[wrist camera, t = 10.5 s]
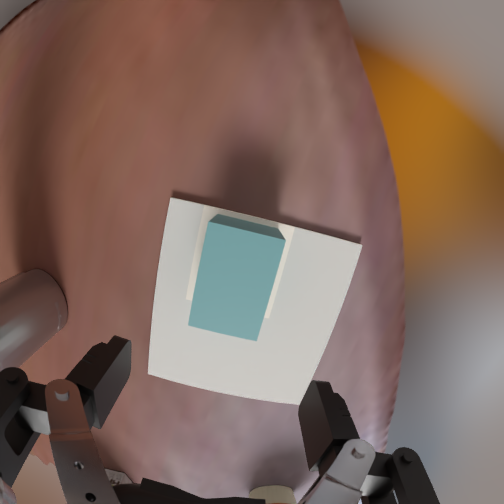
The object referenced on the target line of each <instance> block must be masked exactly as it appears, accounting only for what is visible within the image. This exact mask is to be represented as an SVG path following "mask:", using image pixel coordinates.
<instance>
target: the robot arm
mask: <svg viewBox="0 0 504 504" xmlns="http://www.w3.org/2000/svg"><path fill="white" fill-rule="evenodd" d="M67 315H68V311H67V304H66V301H65V297H64V295H63V293H62V291H61V289H60V287H59V285H58V284H57V283H56V281H55V280H54V279H53V278H52V277H51V276H50V275H49V274H48V273H46V272H45V271H43V270H40V269H33V270H30V271H28V272H26V273H24V272H21V273H19V274H17V275H15V276H13V277H11V278H9V279H7V280H5V281H3V282H1V283H0V504H16V496H15V494H14V492H13V490H12V489H11V487H12V485H13V483H14V481H15V479H16V477H17V475H18V473H19V472H20V470H21V468H22V466H23V464H24V462H25V460H26V458H27V457H28V455H29V453H30V451H31V449H32V448H33V446H34V444H35V442H36V440H37V439H38V437H39V435H40V434H41V433H43V434H47V435H49V439H50V444H51V449H52V453H53V458H54V462H55V466H56V469H57V473H58V476H59V480H60V483H61V486H62V490H63V492H64V496H65V498H66V501H67V504H266V500H265V499H254V498H242V497H229V498H212V499H204V498H200V497H198V496H195V495H193V494H190V493H188V492H185V491H183V490H181V489H179V488H176V487H174V486H171V485H167V484H164V483H160V482H156V481H153V480H149V479H146V478H143V479H142V482H141V484H137V483H126V484H118V485H114V486H112V485H111V483H110V480H109V478H108V476H107V473H106V471H105V469H104V466H103V464H102V461H101V458H100V456H99V453H98V450H97V448H96V445H95V442H94V439H93V436H92V433H91V431H90V429H91V428H92V426H94V427H96V428H98V429H101V428H102V426H103V424H104V422H105V420H106V418H107V416H108V415H109V413H110V411H111V409H112V407H113V405H114V404H115V402H116V400H117V398H118V396H119V395H120V393H121V391H122V389H123V388H124V386H125V384H126V382H127V380H128V378H129V375H130V371H131V341H130V340H127V339H124V338H121V337H119V336H116V335H115V336H113V337H112V339H111V340H110V341H109V342H108V343H107V344H105V343H103V342H101V343H99V344H97V345H95V346H93V347H92V348H91V349H90V350H89V351H88V352H87V354H86V355H85V356H84V357H83V358H82V360H80V362H79V363H78V364H77V365H76V366H75V367H74V369H73V370H72V371H71V372H70V373H69V375H68V376H67V377H66V378H65V379H56V380H53V381H51V382H49V383H48V384H47V385H43V384H39V383H35V382H31V381H28V378H27V375H26V373H25V372H24V371H23V370H21V369H19V367H20V366H21V365H22V364H23V363H24V362H25V361H26V360H27V359H28V358H30V357H31V356H32V355H33V354H34V353H35V352H36V351H37V350H38V349H39V348H40V347H42V346H43V345H44V344H45V343H46V342H47V341H48V340H49V339H51V338H52V337H53V336H54V335H55V334H56V333H57V332H58V331H60V330H61V329H62V328H63V327H64V326H65V324H66V321H67ZM298 416H299V421H300V426H301V431H302V437H303V442H304V447H305V452H306V457H307V462H308V467H309V471H319V477H318V478H317V479H316V480H315V482H314V483H313V484H312V486H311V487H310V488H309V490H308V491H307V492H306V494H305V495H304V496H303V497H302V499H301V500H300V501H299V502H298V504H358V502H359V500H360V498H361V500H362V504H397V502H396V499H395V496H394V493H393V490H395V493H396V496H397V499H398V502H399V504H440V503H439V500H438V498H437V496H436V493H435V491H434V489H433V486H432V484H431V482H430V479H429V477H428V475H427V473H426V470H425V468H424V466H423V464H422V462H421V460H420V457H419V456H418V454H417V453H416V452H415V451H414V450H412V449H409V448H405V447H402V448H398V449H396V450H395V451H394V453H393V454H392V455H391V454H384V453H378V452H375V450H374V448H373V446H372V445H371V444H369V443H368V442H366V441H364V440H361V439H360V437H359V435H358V432H357V430H356V427H355V425H354V422H353V420H352V417H350V413H349V410H348V408H347V405H346V403H345V400H344V399H343V398H342V397H341V396H340V395H339V394H338V393H334V392H333V390H332V387H331V385H330V383H329V382H326V381H316V380H313V381H311V383H310V385H309V387H308V389H307V391H306V393H305V395H304V397H303V399H302V401H301V403H300V406H299V411H298Z"/></svg>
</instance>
